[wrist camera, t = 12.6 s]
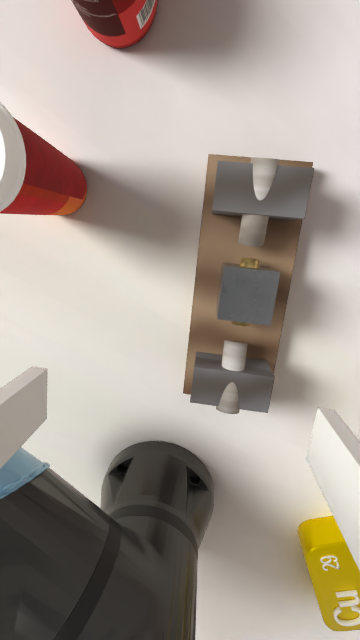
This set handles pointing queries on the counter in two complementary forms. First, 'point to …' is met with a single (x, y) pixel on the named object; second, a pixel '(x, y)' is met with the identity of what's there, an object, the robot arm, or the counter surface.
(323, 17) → the counter surface
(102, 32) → the canned food
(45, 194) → the coffee cup
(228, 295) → the coupler
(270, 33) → the counter surface
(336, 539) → the element tile
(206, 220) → the shaft stand
